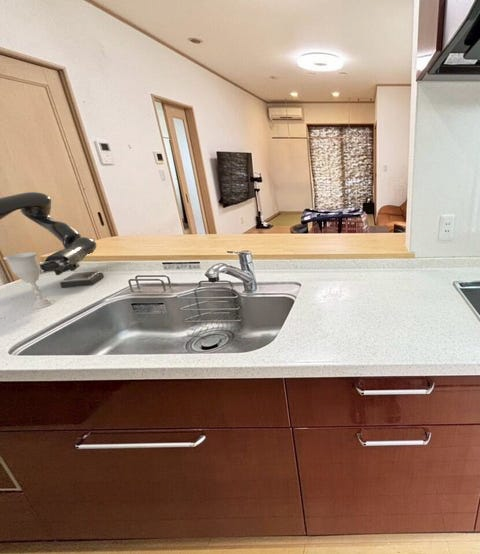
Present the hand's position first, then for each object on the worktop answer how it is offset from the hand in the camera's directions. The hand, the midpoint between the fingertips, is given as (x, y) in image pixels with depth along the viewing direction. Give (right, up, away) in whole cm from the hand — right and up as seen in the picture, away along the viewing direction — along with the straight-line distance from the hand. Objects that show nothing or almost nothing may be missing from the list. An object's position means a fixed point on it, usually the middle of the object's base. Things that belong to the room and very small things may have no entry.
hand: (40, 274), depth 103 cm
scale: (-2, -3, +17) cm, 18 cm away
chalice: (+2, -11, -1) cm, 11 cm away
